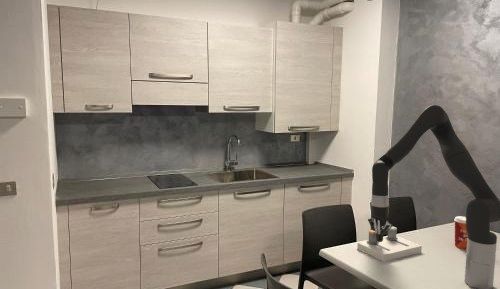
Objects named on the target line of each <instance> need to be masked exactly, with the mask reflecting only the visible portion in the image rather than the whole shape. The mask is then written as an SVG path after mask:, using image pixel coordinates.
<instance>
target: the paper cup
mask: <svg viewBox="0 0 500 289" xmlns="http://www.w3.org/2000/svg"><path fill="white" fill-rule="evenodd" d="M467 239H468V233H467V231H466V216H462V215H461V216H459V215H458V216H455V217H454V246H455V247H456V248H458V249H463V250H467Z"/></svg>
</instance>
